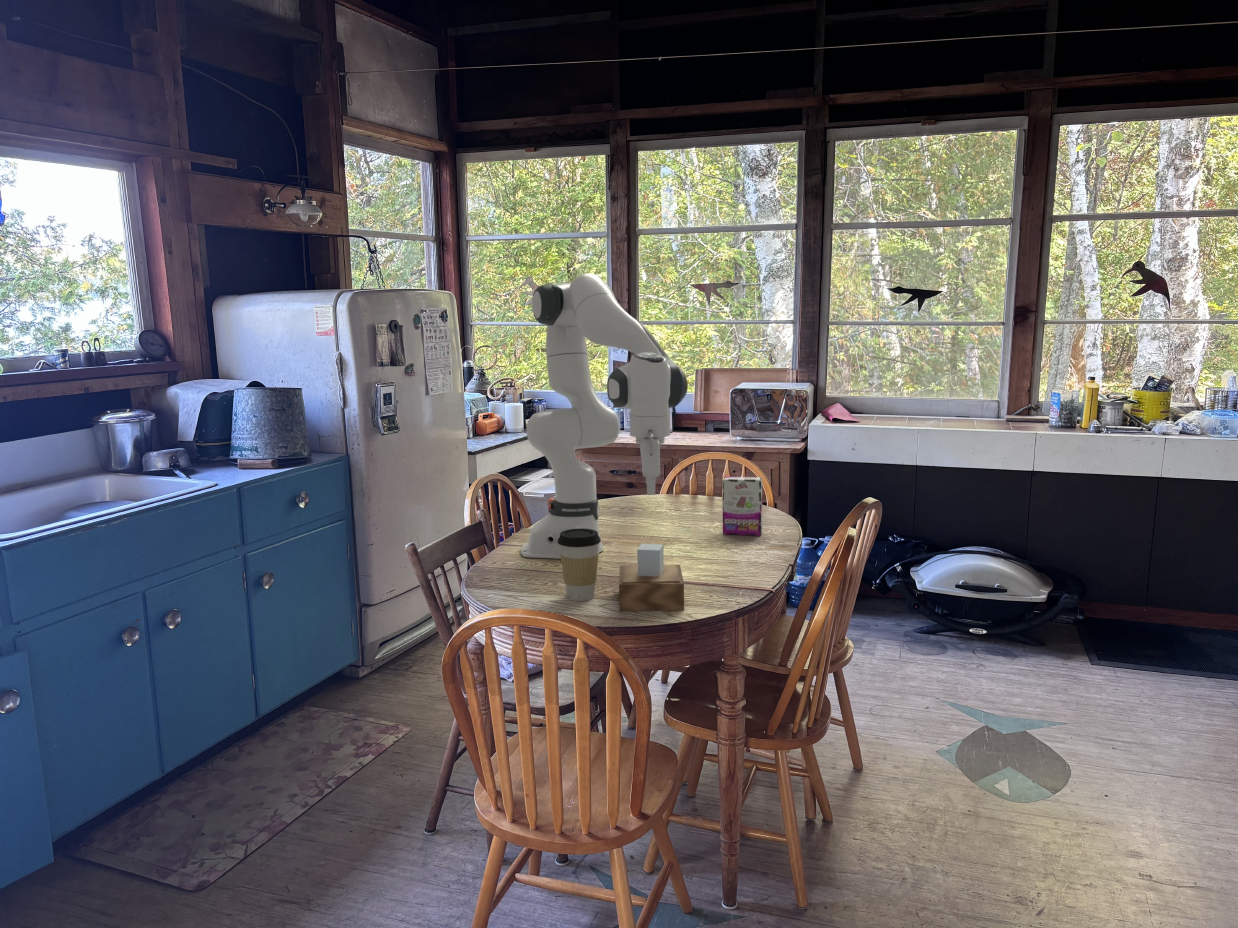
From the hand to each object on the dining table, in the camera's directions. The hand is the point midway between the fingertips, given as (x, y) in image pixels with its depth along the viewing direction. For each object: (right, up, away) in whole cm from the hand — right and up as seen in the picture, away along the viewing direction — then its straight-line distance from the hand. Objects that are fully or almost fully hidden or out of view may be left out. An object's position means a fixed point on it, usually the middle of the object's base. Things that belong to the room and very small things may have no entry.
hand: (650, 489), depth 190 cm
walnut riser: (0, -25, +3) cm, 25 cm away
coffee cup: (-16, -25, +7) cm, 30 cm away
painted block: (0, -19, +2) cm, 19 cm away
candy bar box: (+29, -15, +59) cm, 67 cm away
